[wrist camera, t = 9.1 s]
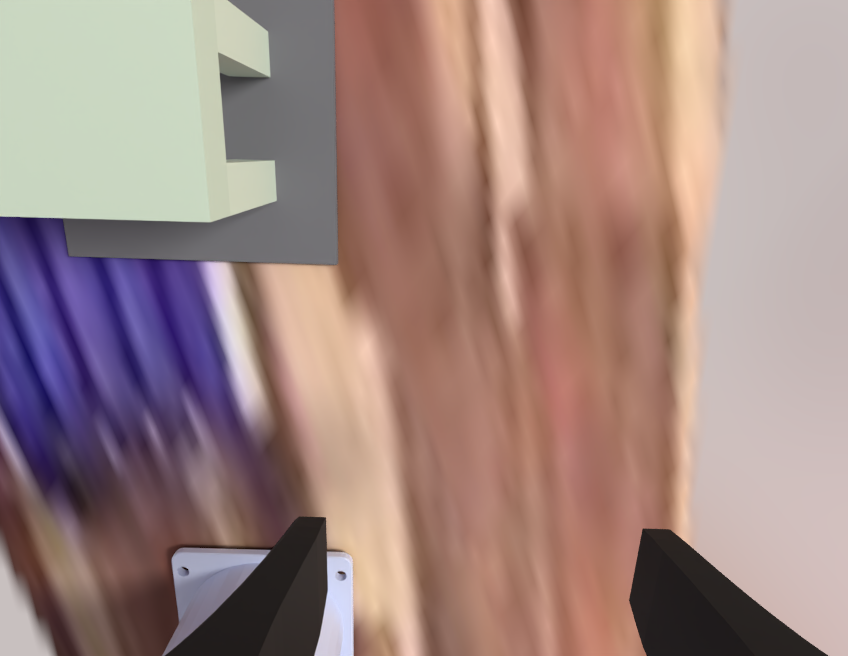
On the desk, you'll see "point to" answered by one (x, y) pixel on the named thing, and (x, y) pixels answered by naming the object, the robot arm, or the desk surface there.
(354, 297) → the desk surface
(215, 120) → the slotted sage cube
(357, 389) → the desk surface
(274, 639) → the robot arm
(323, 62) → the felt pad
